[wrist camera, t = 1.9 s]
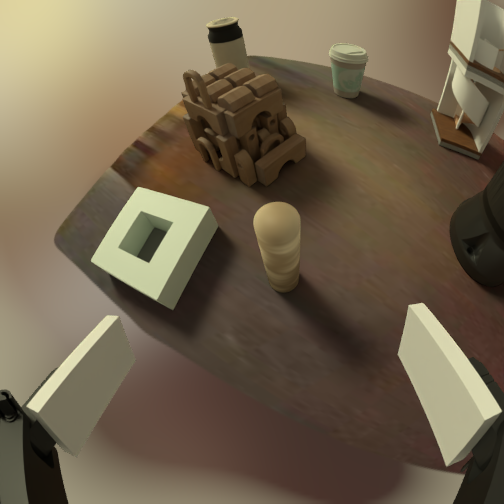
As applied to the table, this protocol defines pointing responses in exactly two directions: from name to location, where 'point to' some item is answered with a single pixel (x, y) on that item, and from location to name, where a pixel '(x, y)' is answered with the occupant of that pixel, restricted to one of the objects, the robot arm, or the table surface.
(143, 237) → the socket block
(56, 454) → the robot arm
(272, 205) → the dowel
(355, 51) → the coffee cup
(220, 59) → the travel mug
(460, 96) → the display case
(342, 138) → the table surface
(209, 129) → the wooden puzzle
